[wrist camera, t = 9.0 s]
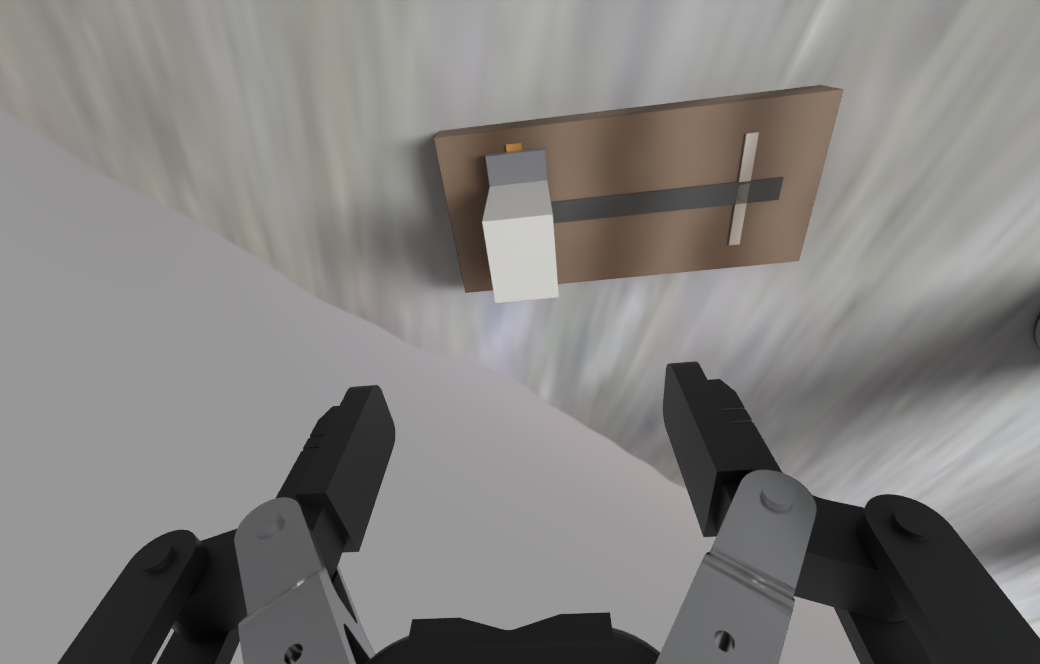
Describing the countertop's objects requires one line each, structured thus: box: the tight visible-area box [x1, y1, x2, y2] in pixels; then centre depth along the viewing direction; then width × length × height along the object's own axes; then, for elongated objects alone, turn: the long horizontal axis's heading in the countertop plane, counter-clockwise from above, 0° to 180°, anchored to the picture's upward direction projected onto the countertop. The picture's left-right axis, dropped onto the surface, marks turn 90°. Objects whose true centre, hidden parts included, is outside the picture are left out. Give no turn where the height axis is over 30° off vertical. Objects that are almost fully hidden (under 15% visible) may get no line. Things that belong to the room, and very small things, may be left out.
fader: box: [482, 148, 559, 303], centre depth 22 cm, size 3×7×6 cm, turn 6°
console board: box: [434, 85, 843, 293], centre depth 25 cm, size 20×9×2 cm, turn 96°
